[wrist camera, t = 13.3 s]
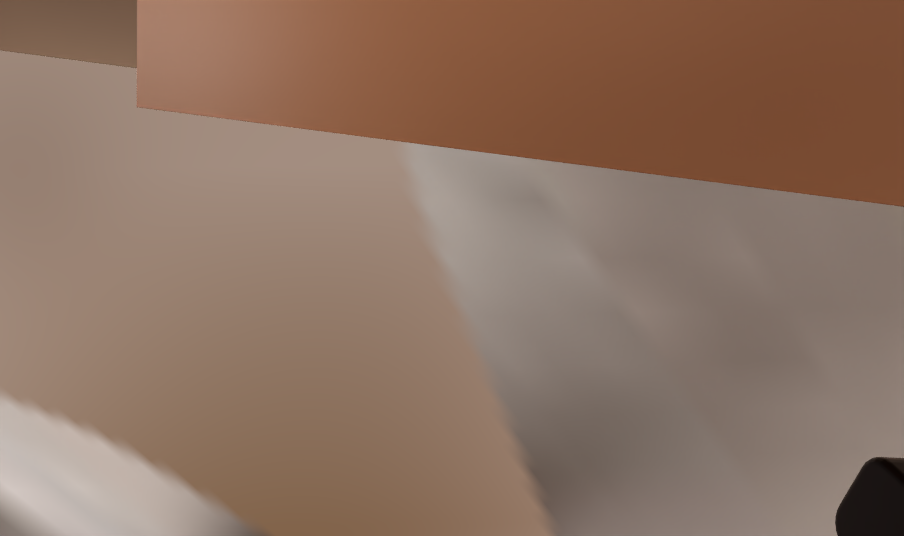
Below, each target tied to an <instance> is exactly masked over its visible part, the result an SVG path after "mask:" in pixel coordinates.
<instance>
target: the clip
mask: <svg viewBox="0 0 904 536" xmlns="http://www.w3.org/2000/svg"><path fill="white" fill-rule="evenodd" d="M137 107H139V108H147V109H154V110H163V111H170V112H178V113H186V114H193V115H201V116H209V117H217V118H225V119H232V120H240V121H247V122H255V123H263V124H271V125H278V126H286V127H293V128H301V129H309V130H317V131H324V132H332V133H340V134H347V135H355V136H364V137H370V138H378V139H386V140H394V141H401V142H409V143H417V144H424V145H432V146H440V147H448V148H455V149H463V150H471V151H478V152H486V153H494V154H502V155H509V156H517V157H525V158H532V159H540V160H548V161H556V162H563V163H571V164H579V165H586V166H594V167H602V168H610V169H617V170H625V171H633V172H640V173H648V174H656V175H664V176H671V177H679V178H687V179H694V180H702V181H710V182H718V183H725V184H733V185H741V186H748V187H756V188H764V189H772V190H779V191H787V192H795V193H802V194H810V195H818V196H826V197H833V198H841V199H849V200H856V201H864V202H872V203H880V204H887V205H895V206H903V207H904V0H137Z"/></svg>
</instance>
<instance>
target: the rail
mask: <svg viewBox="0 0 904 536" xmlns="http://www.w3.org/2000/svg"><path fill="white" fill-rule="evenodd" d="M0 50H3V51H10V52H17V53H25V54H32V55H40V56H48V57H55V58H63V59H71V60H78V61H86V62H94V63H101V64H109V65H116V66H124V67H131V68H137V0H0Z"/></svg>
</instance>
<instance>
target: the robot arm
mask: <svg viewBox="0 0 904 536" xmlns="http://www.w3.org/2000/svg"><path fill="white" fill-rule="evenodd" d="M835 524H836V531H837V535H838V536H904V458H888V457H876V458H872V459H870V460H869V461H867V462H866V463H865V464H864V465H863V467H862V468H861V470H860V472H859V473H858V475H857V477H856V478H855V480H854V482H853V484H852V485H851V487H850V489H849V490H848V492H847V494H846V495H845V497H844V499H843V500H842V502H841V504H840V505H839V507H838V510H837V513H836V521H835Z"/></svg>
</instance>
